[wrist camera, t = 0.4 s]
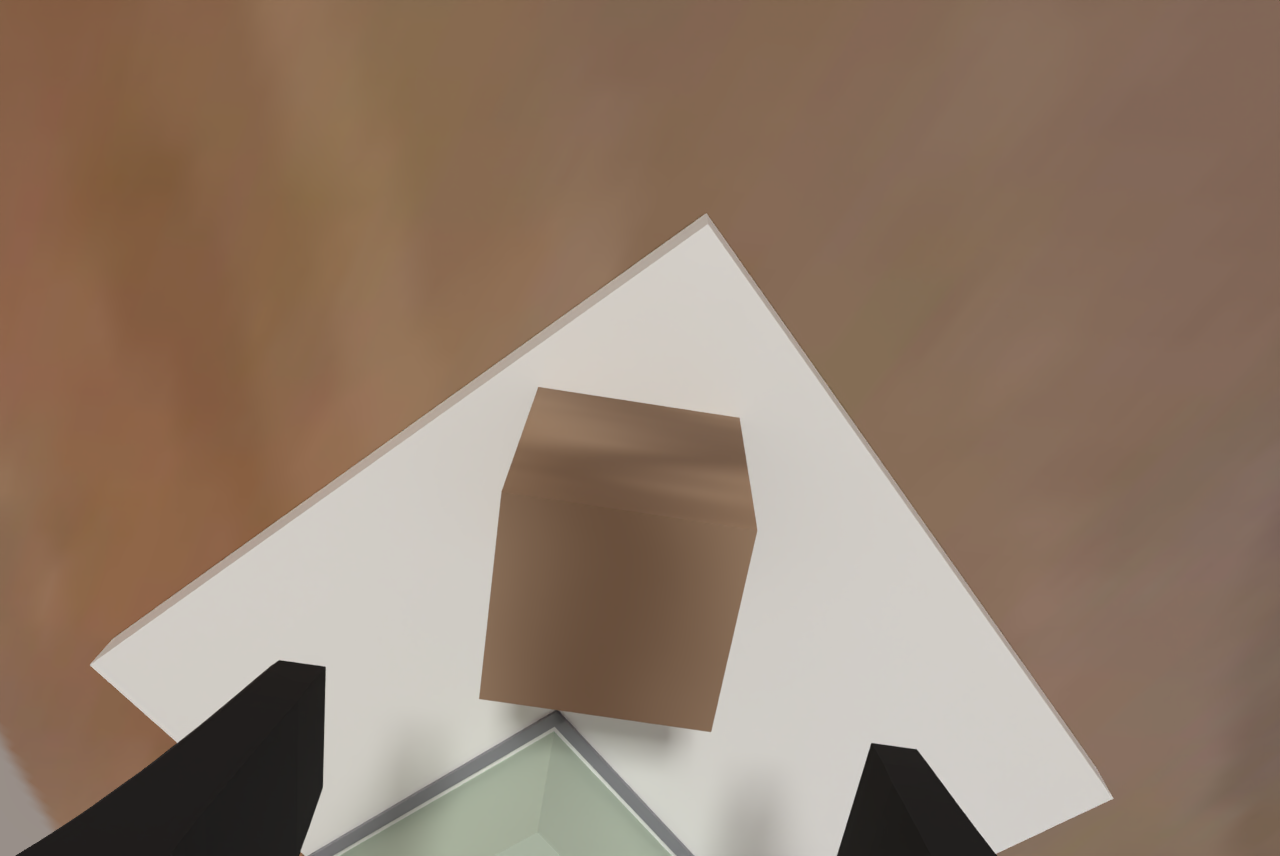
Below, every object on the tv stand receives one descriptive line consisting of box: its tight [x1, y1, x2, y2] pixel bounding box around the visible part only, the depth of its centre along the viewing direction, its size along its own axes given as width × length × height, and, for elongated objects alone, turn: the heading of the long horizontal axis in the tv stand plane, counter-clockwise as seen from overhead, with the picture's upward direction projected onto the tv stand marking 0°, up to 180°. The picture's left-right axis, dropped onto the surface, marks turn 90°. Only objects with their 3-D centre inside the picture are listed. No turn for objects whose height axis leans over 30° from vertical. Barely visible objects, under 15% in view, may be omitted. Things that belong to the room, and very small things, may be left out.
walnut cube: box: [479, 387, 757, 732], centre depth 18 cm, size 4×4×4 cm
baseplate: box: [90, 213, 1113, 856], centre depth 23 cm, size 16×17×1 cm
